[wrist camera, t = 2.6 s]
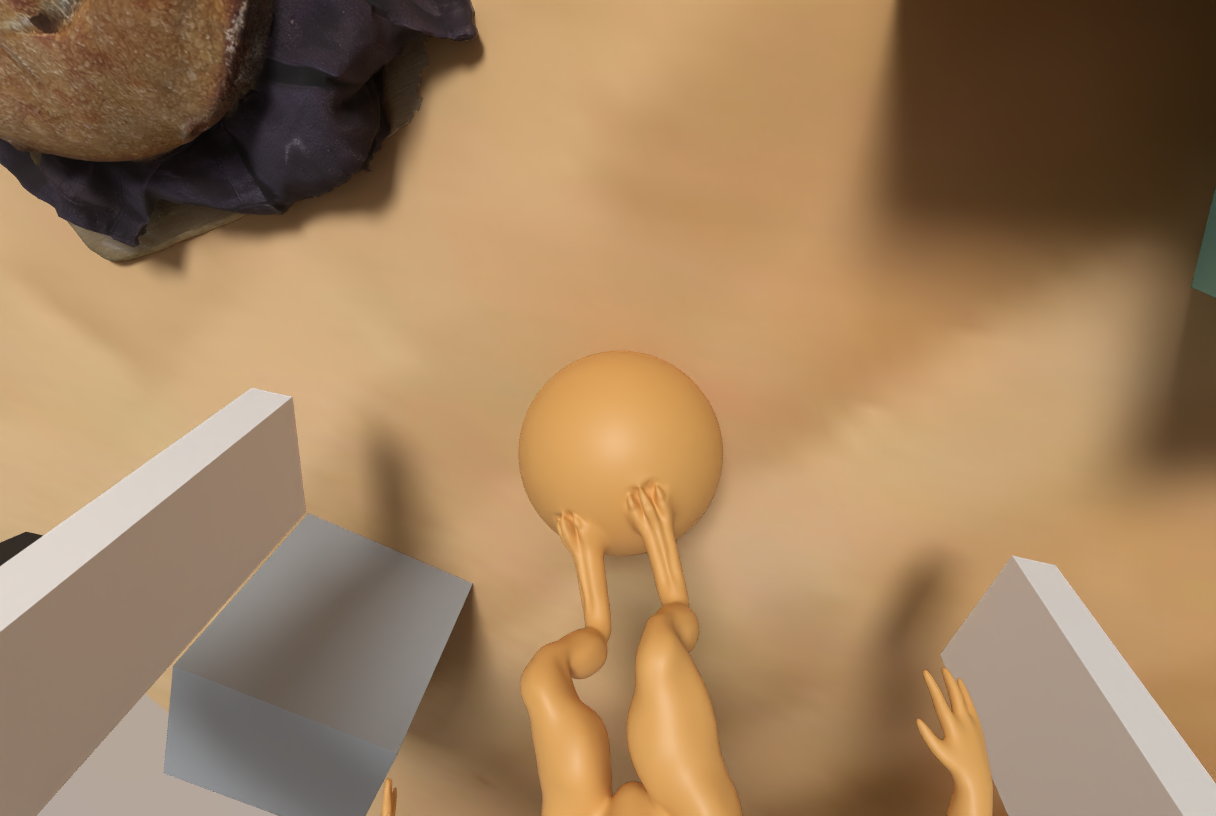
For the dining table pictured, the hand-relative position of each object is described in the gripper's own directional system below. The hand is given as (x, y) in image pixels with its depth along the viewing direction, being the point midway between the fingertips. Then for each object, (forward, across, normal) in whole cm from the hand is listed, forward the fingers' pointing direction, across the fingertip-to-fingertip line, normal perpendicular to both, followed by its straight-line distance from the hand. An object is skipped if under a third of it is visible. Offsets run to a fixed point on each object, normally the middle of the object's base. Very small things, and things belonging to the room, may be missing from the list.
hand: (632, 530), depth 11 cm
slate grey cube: (+3, -7, -8) cm, 11 cm away
